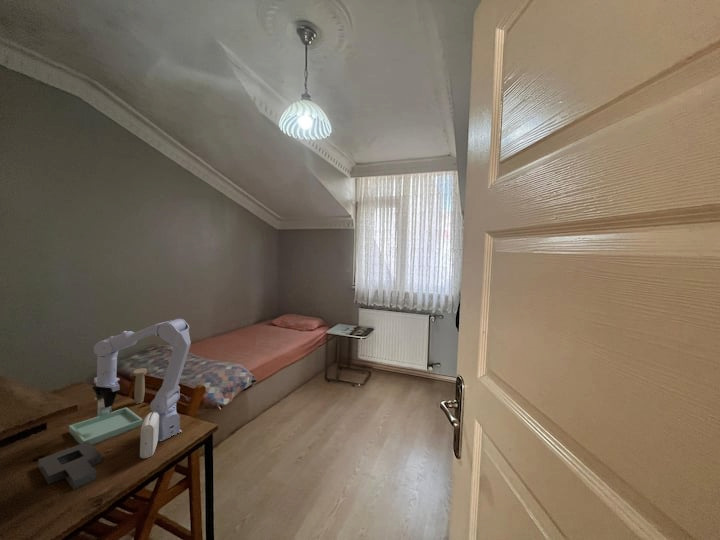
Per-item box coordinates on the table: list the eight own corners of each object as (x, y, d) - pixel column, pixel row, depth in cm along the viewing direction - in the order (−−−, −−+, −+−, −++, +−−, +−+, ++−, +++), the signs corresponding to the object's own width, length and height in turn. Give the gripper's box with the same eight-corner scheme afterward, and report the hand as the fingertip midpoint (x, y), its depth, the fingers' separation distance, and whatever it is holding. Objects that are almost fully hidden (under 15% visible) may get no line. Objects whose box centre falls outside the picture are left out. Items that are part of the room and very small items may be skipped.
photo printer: (153, 457, 100) (154, 421, 100) (138, 460, 98) (139, 424, 98) (159, 440, 109) (160, 407, 109) (145, 442, 108) (146, 409, 107)
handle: (146, 398, 139) (147, 367, 139) (144, 404, 134) (145, 372, 133) (133, 400, 137) (135, 368, 136) (131, 406, 131) (132, 373, 131)
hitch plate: (110, 472, 92) (110, 464, 92) (56, 497, 82) (56, 488, 82) (88, 448, 103) (88, 441, 103) (38, 467, 92) (38, 459, 92)
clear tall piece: (98, 418, 109) (99, 398, 109) (91, 416, 110) (92, 396, 110) (116, 411, 114) (117, 391, 114) (109, 409, 116) (110, 389, 116)
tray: (142, 425, 118) (143, 419, 118) (83, 448, 102) (83, 441, 102) (126, 412, 126) (126, 407, 126) (69, 432, 111) (69, 425, 111)
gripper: (129, 371, 113) (127, 405, 113) (109, 363, 119) (108, 396, 119) (107, 377, 106) (105, 413, 107) (87, 368, 113) (86, 403, 113)
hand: (105, 404), depth 113 cm, fingers closed on clear tall piece, 4 cm apart
